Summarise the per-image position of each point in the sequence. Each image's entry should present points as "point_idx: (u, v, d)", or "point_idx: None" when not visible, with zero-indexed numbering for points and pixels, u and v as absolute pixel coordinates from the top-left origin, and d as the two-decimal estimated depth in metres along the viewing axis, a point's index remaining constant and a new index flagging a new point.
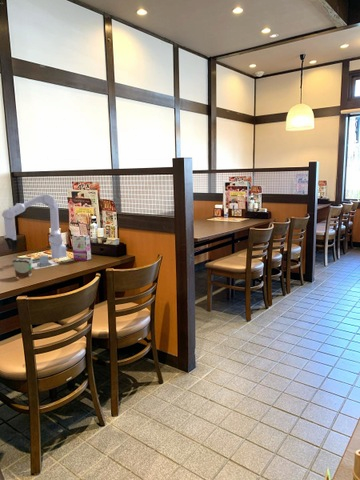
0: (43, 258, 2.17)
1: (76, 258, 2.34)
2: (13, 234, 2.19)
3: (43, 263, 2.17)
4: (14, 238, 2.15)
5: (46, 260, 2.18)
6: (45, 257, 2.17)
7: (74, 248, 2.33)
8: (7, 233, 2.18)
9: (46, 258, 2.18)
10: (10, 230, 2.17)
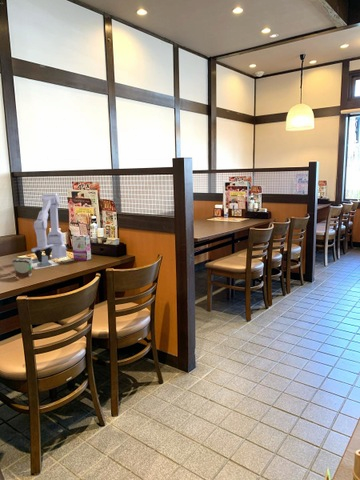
0: (43, 258, 2.17)
1: (76, 258, 2.34)
2: (39, 246, 2.15)
3: (43, 263, 2.17)
4: (32, 250, 2.12)
5: (46, 260, 2.18)
6: (45, 257, 2.17)
7: (74, 248, 2.33)
8: None
9: (46, 258, 2.18)
10: (37, 241, 2.15)
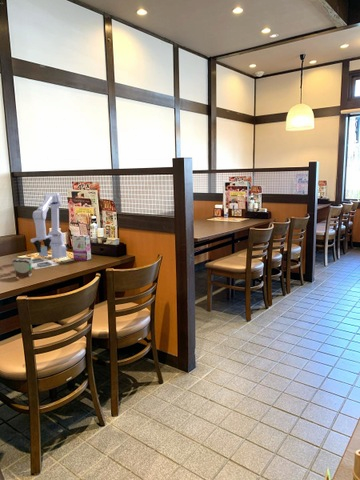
0: (42, 249, 2.16)
1: (76, 258, 2.34)
2: (38, 236, 2.13)
3: (42, 254, 2.16)
4: (31, 240, 2.10)
5: (45, 251, 2.17)
6: (44, 248, 2.16)
7: (74, 248, 2.33)
8: None
9: (45, 249, 2.17)
10: (36, 231, 2.14)
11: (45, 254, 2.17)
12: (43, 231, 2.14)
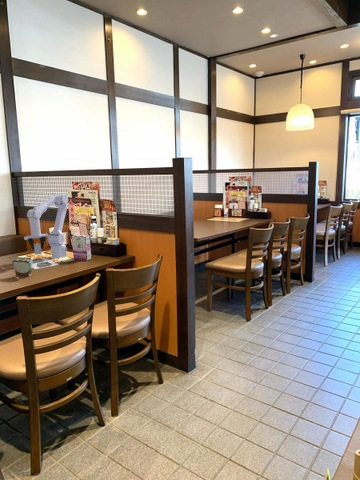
0: (35, 246, 2.23)
1: (76, 258, 2.34)
2: (32, 234, 2.21)
3: (35, 251, 2.23)
4: (24, 238, 2.19)
5: (39, 249, 2.24)
6: (38, 246, 2.23)
7: (74, 248, 2.33)
8: None
9: (38, 247, 2.23)
10: None
11: (39, 252, 2.24)
12: (36, 230, 2.21)
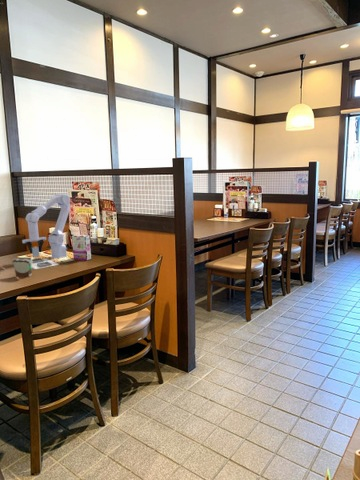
0: (33, 249, 2.26)
1: (76, 258, 2.34)
2: (30, 237, 2.25)
3: (33, 254, 2.27)
4: (22, 241, 2.23)
5: (37, 252, 2.27)
6: (36, 249, 2.27)
7: (74, 248, 2.33)
8: None
9: (36, 250, 2.27)
10: (29, 233, 2.25)
11: (36, 255, 2.28)
12: (34, 233, 2.24)
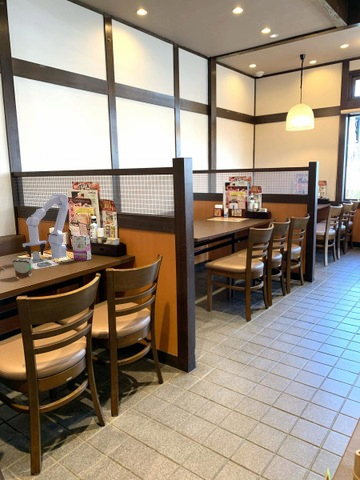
0: (34, 254, 2.27)
1: (76, 258, 2.34)
2: (30, 241, 2.25)
3: (34, 259, 2.28)
4: (23, 245, 2.23)
5: (37, 257, 2.28)
6: (36, 254, 2.27)
7: (74, 248, 2.33)
8: None
9: (37, 255, 2.28)
10: (29, 237, 2.26)
11: (37, 260, 2.28)
12: (35, 237, 2.25)
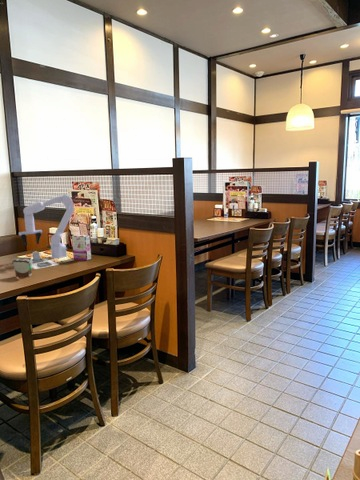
0: (34, 254, 2.27)
1: (76, 258, 2.34)
2: (26, 230, 2.31)
3: (34, 259, 2.28)
4: (19, 234, 2.29)
5: (37, 257, 2.28)
6: (36, 254, 2.27)
7: (74, 248, 2.33)
8: None
9: (37, 255, 2.28)
10: (25, 226, 2.32)
11: (37, 260, 2.28)
12: (30, 226, 2.31)
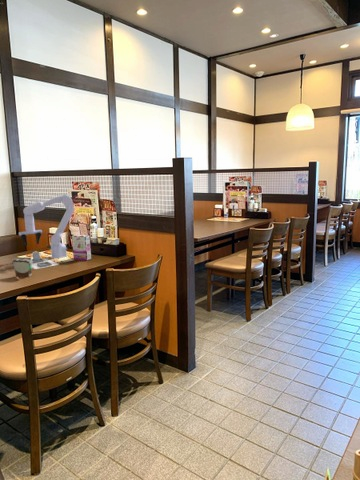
0: (34, 254, 2.27)
1: (76, 258, 2.34)
2: (26, 230, 2.31)
3: (34, 259, 2.28)
4: (19, 234, 2.29)
5: (37, 257, 2.28)
6: (36, 254, 2.27)
7: (74, 248, 2.33)
8: None
9: (37, 255, 2.28)
10: (25, 226, 2.32)
11: (37, 260, 2.28)
12: (30, 226, 2.31)
